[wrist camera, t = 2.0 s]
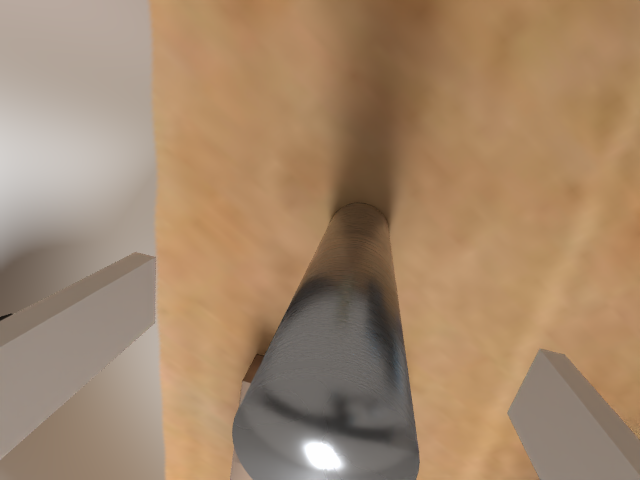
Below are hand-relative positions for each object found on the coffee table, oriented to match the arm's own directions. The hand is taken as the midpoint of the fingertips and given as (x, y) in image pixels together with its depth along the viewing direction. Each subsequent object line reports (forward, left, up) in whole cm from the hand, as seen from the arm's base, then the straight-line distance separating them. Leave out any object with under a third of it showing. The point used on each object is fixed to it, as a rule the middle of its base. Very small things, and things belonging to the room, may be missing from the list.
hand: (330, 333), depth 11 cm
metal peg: (0, 0, -12) cm, 12 cm away
